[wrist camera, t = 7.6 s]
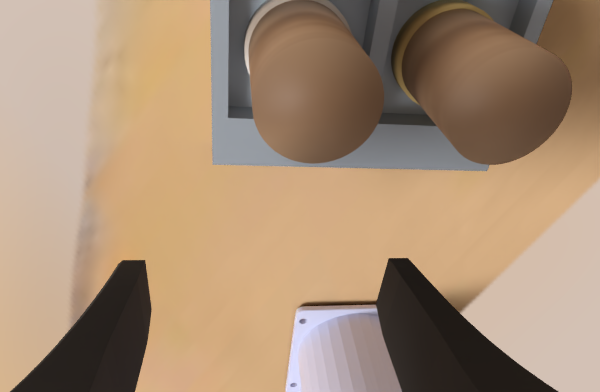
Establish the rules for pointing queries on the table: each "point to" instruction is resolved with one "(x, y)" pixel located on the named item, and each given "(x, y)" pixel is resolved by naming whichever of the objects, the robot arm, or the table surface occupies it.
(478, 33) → the sleeve
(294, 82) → the sleeve seated
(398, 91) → the grey divided tray
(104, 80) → the table surface
